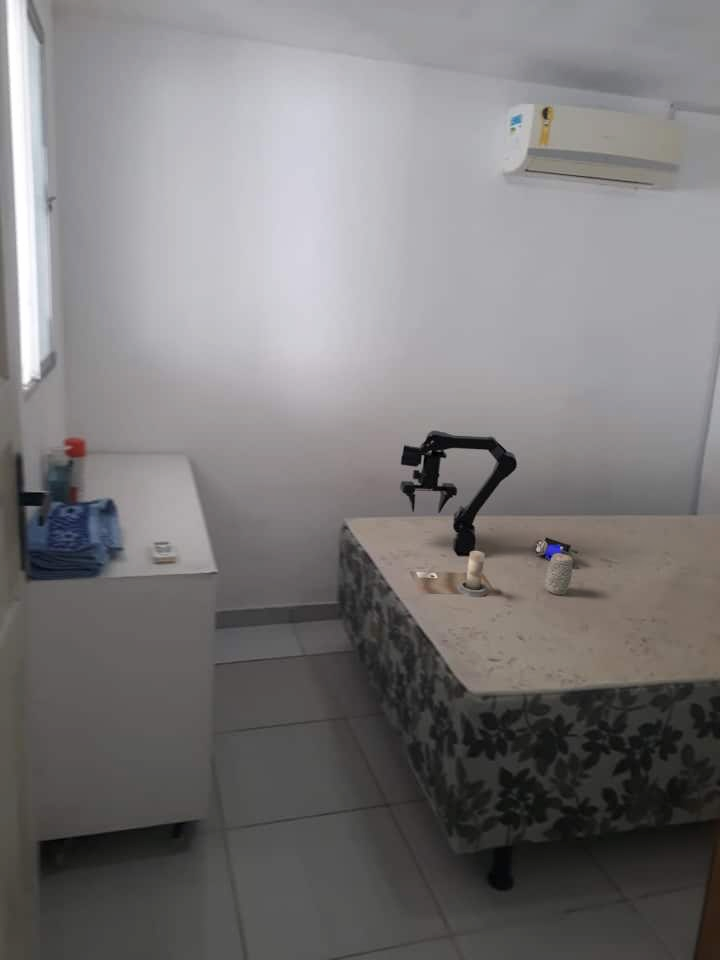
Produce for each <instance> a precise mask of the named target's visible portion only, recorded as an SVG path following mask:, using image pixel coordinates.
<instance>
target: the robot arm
mask: <svg viewBox="0 0 720 960" xmlns="http://www.w3.org/2000/svg"><path fill="white" fill-rule="evenodd" d="M425 438H426V439H425V440H424V442H423V443H421V445H419V447H418V446H412V445H411V446H410V445H408V444H407V445H406V444H405V445H403V449H402V455H401V457H400V458H401V459H400V466H406V467H414V468H418V467H419V466H420V465H422V468H421V471H420V470H419V469H414V470H413V469H412V470H413V471H412V479H413V480H417V483H418V484H414V482H413V481H411V480H410V481H408V480H406V481H405V480H402V481H401V482H400V486H399V489H400V491H401V492H402V493H403V494H405V496H407V497H408V500H409V504H410V509H411V512H412V513H414V511H415V506H416V505H415V503H416V494H415V492H416V491H419V492H420V491H423V492H424V491H425V492H440V496H439V497H440V498H439V502H438V506H437V507H438V509H437V512H438V514H440V513H441V511H442V510H443V508H444V506H445V505H446V504H447V502H448V501H449V500H450V499H452V498H453V497H454V496H455V497H456V496H457V495H458V488H457V486H455V485H454V483H452V482H442V484H441V485H438V484H439V478H440V469H441V460H442V459H446V458H448V457H447V455H448V454H447V453H446V452H445V451H446V450H450V449H462V450H463V449H464V450H486V451H488V452H489V453H490V454H491V456H492V457H493V458H494V459H495V461H496V462H495V465H494V467H493V468H492V471H491V473H490V475H488V477H487V479H486V480H485V481H484V483H483V484H482V486H481V487H480V488H479V489H478V491H477V492H476V494H475V495H474V496H473V497H472V499H471V500H470V502H469V503H468V504H467V505H465V506H464V507H463V506H462V505H460V506H459V508H458V510H457V511H456V512H454V513H453V524H452V527H453V531H454V532H455V533H456V534H455V537H454V538H453V545H452V550H453V551H454V553H455V555H456V556H462V557H463V556H465V557H469V556H470V552H471V551H475V549H476V548H475V547H476V539H477V537H476V526H474V524H473V523H474V521H475V519H476V517H477V514H478V512H479V511H480V510H481V508H482V507H483V506H484V505H485V503H486V502H487V500H488V499H489V498H490V497H491V495H492V494H493V492H495V490H496V488H497V487H498V486H499V485H500V484H501V482H502V481H503V480H505V479H507V478H508V477H509V476H510V475H511V474H512V473H513V472H514V471H515V470H516V469H517V466H518V463H517V462H518V461H517V459H516V456H515V454H514V453H513V452H511V451H507V450H506V448H505V447H503V446H502V445H501V444H500V443H499V442H498V441H497V440H496V437H493V436H469V435H454V434H450V433H447V432H443V431H440V430H439V431H438V430H431V431H430V432H428V433H427V435H426V437H425ZM422 458H423V463H422Z"/></svg>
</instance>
